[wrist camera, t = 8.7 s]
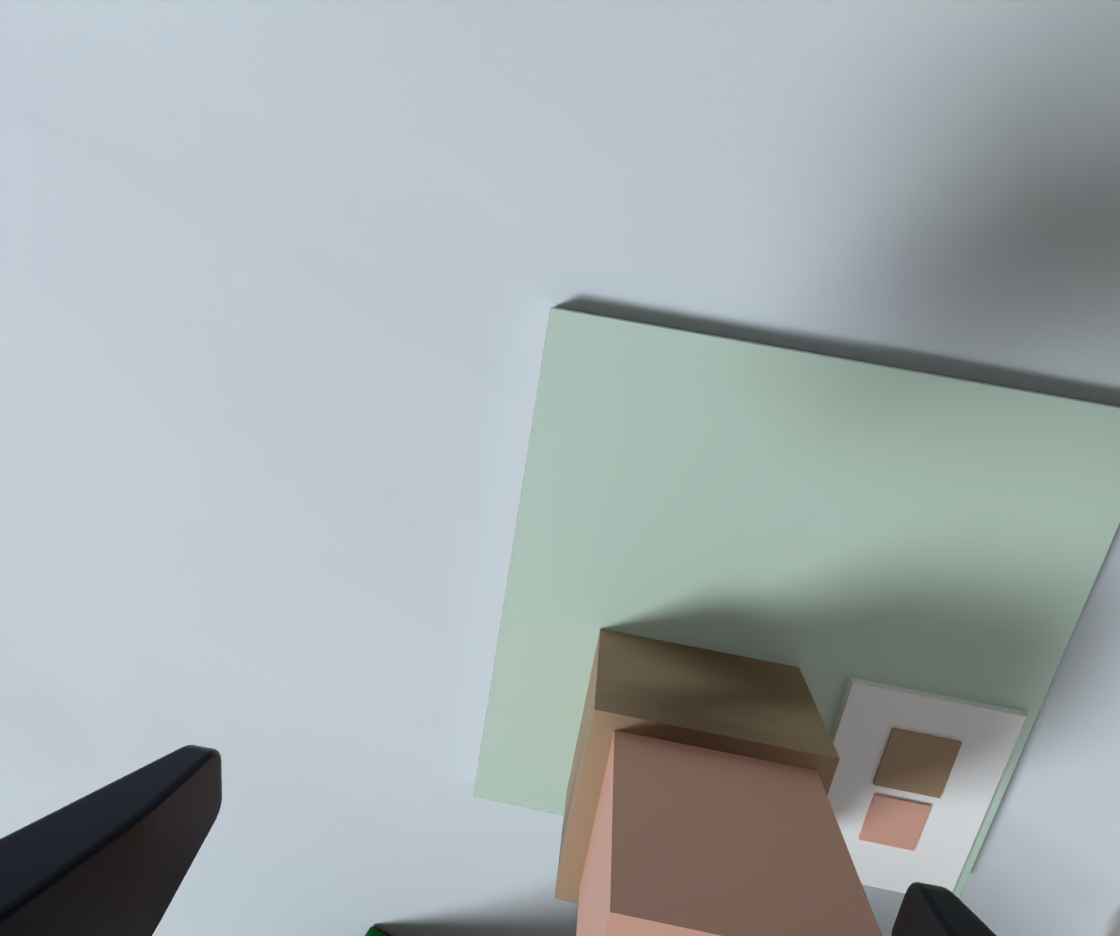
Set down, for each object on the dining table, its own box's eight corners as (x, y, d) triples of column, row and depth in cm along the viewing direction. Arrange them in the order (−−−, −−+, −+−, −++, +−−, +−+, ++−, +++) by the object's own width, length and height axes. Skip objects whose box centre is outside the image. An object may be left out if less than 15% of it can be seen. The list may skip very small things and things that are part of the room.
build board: (1142, 410, 18) (1177, 419, 17) (947, 876, 23) (965, 908, 22) (553, 306, 19) (548, 308, 18) (478, 779, 23) (470, 805, 22)
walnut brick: (799, 667, 20) (840, 758, 16) (749, 828, 22) (776, 945, 18) (600, 628, 20) (594, 709, 17) (566, 790, 22) (554, 898, 18)
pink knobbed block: (817, 770, 17) (910, 1008, 11) (766, 926, 18) (826, 1204, 13) (614, 730, 17) (609, 943, 11) (579, 887, 18) (561, 1143, 13)
